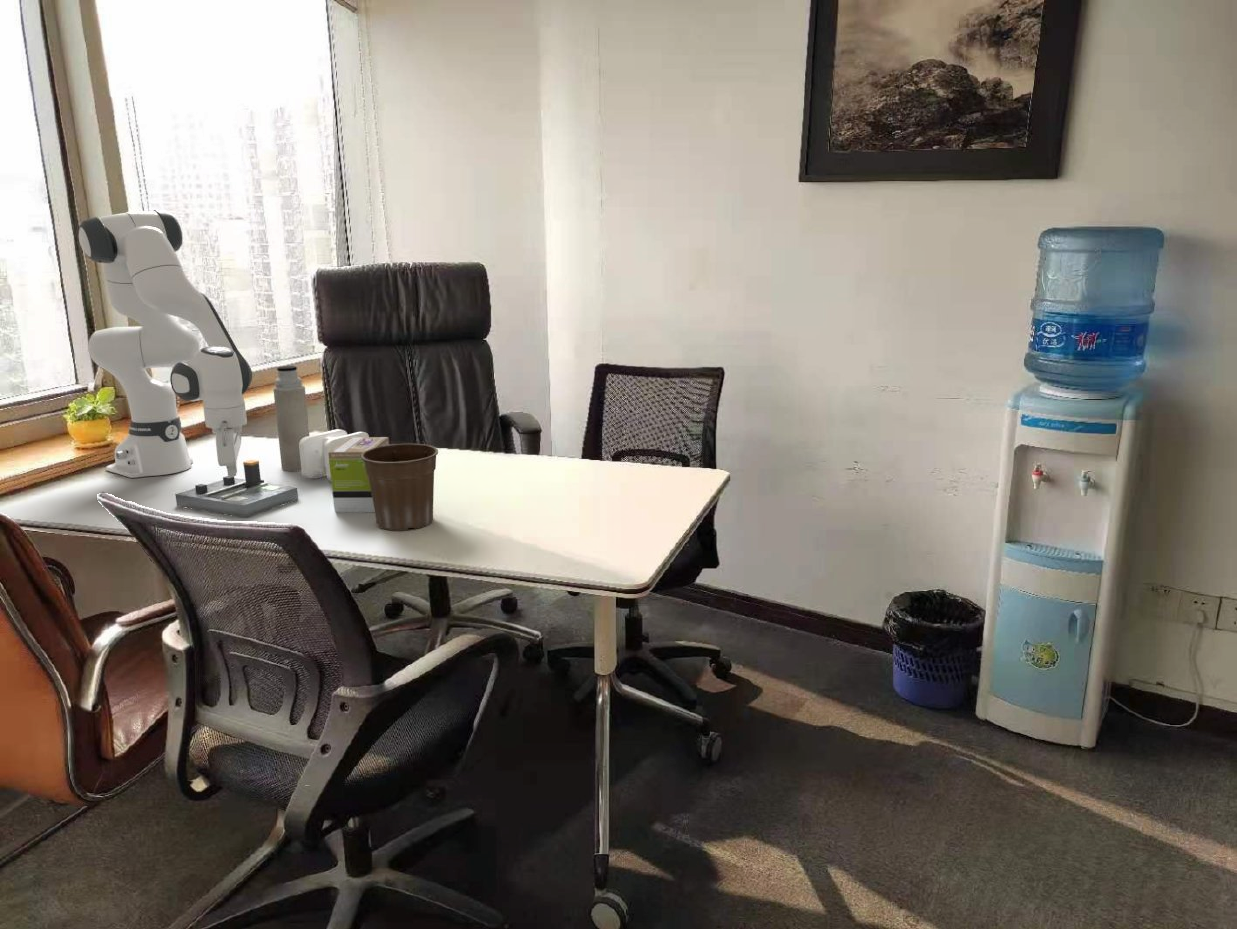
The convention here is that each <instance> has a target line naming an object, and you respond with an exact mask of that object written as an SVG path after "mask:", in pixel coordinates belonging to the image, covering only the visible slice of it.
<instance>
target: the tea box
mask: <svg viewBox="0 0 1237 929" xmlns="http://www.w3.org/2000/svg"><path fill="white" fill-rule="evenodd" d="M385 445H390V439H389V437H388V436H380V437H379V436H378V437H377V436H374V437H373V436H372V437H370V436H369V437H361V438H351V437H350V438H348V439H347V440H345V441H344V442H343V443H341V444H340V445H338V446H337V447H336V448H334V449H333V450H331V451H330V452H329V453H328V454H329V465H330V475H331V491H332V499H333V508H334V512H335V513H375V510H374V504H373V499H372V494H371V488H370V483H369V477H368V475H367V473H366V469H365V464H364V460H362V458H361V454H362V453H363V452H365V451H367V450H369V449H372V448H375V447H379V446H385Z"/></svg>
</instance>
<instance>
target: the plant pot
mask: <svg viewBox="0 0 1237 929" xmlns="http://www.w3.org/2000/svg"><path fill="white" fill-rule="evenodd" d="M438 454H439V449H438V448H436V447H435V446H433V445H429V444H423V443H394V444H393V443H392V444H389V445H385V446H379V447H375V448H372V449H369V450H367V451H365V452H363V453H362V454H361V458H362V460H364V464H365V469H366V473H367V475H368V477H369V483H370V488H371V494H372V499H373V504H374V510H375V512H374V516H375V523H376V524H377V526H378V528H380V529H383V530H386V531H392V532H393V531H394V532H395V531H397V532H398V531H399V532H402V531H407V530H408V529H415V530H416V529H420V528H423V527H427V526H428V525H429V524H431V523H432V522H433V520H434V495H435V494H434V492H435V491H434V490H435V488H434V487H435V486H434V485H435V470H436V467H437V455H438Z"/></svg>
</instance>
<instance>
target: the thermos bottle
mask: <svg viewBox="0 0 1237 929" xmlns="http://www.w3.org/2000/svg"><path fill="white" fill-rule="evenodd" d="M276 369H277V370H276V371H278V373H277V378H275V383H274V385H275V387H273V390H272V391H273V397H274V400H273V401H274V409H275V417H276V426H277V435H278V446H279V453H280V454H279V455H280V463H281V464H280V465H281V469H282V471H285V470H286V472H296V471H297V472H298V471H299V472H301V471H302V470H301V460H300V450H299V442H300V440H301V439H302V438H304V437H307V436H310V430H309V416H308V408H307V407H308V406H307V397H306V394H307V393H306V387H305V385H303V384H302V382H303V381H302V378H301V377H299V376H298V371H297V370H298V368H297V366H295V365H283V366H279V367H277V368H276Z"/></svg>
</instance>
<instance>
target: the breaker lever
mask: <svg viewBox="0 0 1237 929" xmlns="http://www.w3.org/2000/svg"><path fill="white" fill-rule="evenodd" d="M242 465H243V470H244V478H245V479H244V480H246V482H244V483H243V485H244V486H255V485H258V484H261V483H265V480H264V479H261V471H260V461H259V460H255V459H254V460H253V459H249V460H246V461H243V462H242Z"/></svg>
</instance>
